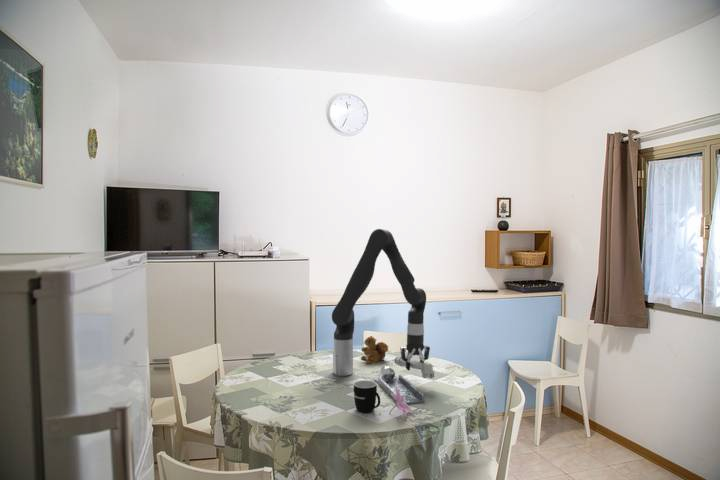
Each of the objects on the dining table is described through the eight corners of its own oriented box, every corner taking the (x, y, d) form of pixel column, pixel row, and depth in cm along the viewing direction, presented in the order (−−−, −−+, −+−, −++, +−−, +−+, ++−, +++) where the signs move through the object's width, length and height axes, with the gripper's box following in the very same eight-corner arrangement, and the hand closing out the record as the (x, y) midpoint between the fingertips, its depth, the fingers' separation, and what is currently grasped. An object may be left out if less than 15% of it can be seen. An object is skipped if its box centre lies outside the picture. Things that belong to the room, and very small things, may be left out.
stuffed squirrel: (359, 359, 245) (359, 335, 245) (384, 357, 249) (384, 333, 249) (364, 364, 236) (364, 339, 235) (390, 362, 239) (390, 337, 239)
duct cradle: (424, 402, 182) (424, 386, 182) (399, 405, 179) (399, 389, 179) (396, 377, 213) (396, 364, 213) (374, 380, 210) (374, 366, 210)
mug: (348, 410, 174) (348, 384, 174) (364, 403, 181) (364, 378, 181) (371, 419, 166) (371, 391, 166) (387, 411, 173) (387, 385, 172)
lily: (393, 426, 162) (406, 404, 161) (373, 405, 170) (385, 384, 169) (411, 426, 170) (424, 405, 170) (391, 406, 179) (403, 385, 178)
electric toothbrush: (401, 355, 217) (436, 361, 196) (402, 369, 216) (437, 377, 195) (393, 356, 214) (427, 363, 193) (393, 370, 214) (428, 379, 192)
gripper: (426, 330, 210) (425, 366, 210) (397, 331, 206) (396, 368, 206) (433, 333, 203) (432, 370, 203) (403, 335, 199) (402, 373, 199)
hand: (414, 369), depth 205 cm, fingers closed on electric toothbrush, 5 cm apart
